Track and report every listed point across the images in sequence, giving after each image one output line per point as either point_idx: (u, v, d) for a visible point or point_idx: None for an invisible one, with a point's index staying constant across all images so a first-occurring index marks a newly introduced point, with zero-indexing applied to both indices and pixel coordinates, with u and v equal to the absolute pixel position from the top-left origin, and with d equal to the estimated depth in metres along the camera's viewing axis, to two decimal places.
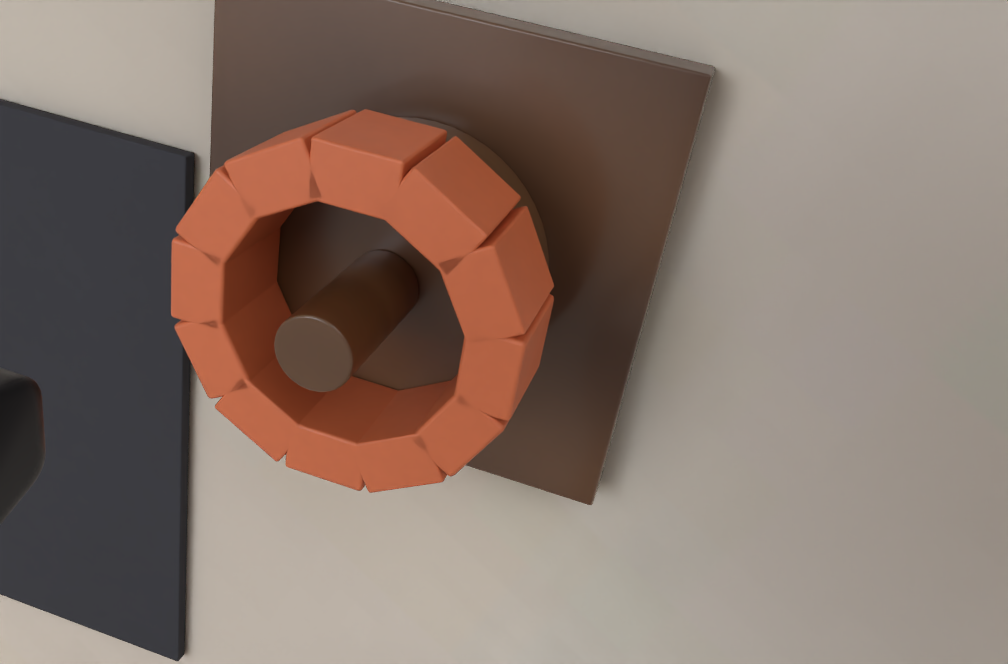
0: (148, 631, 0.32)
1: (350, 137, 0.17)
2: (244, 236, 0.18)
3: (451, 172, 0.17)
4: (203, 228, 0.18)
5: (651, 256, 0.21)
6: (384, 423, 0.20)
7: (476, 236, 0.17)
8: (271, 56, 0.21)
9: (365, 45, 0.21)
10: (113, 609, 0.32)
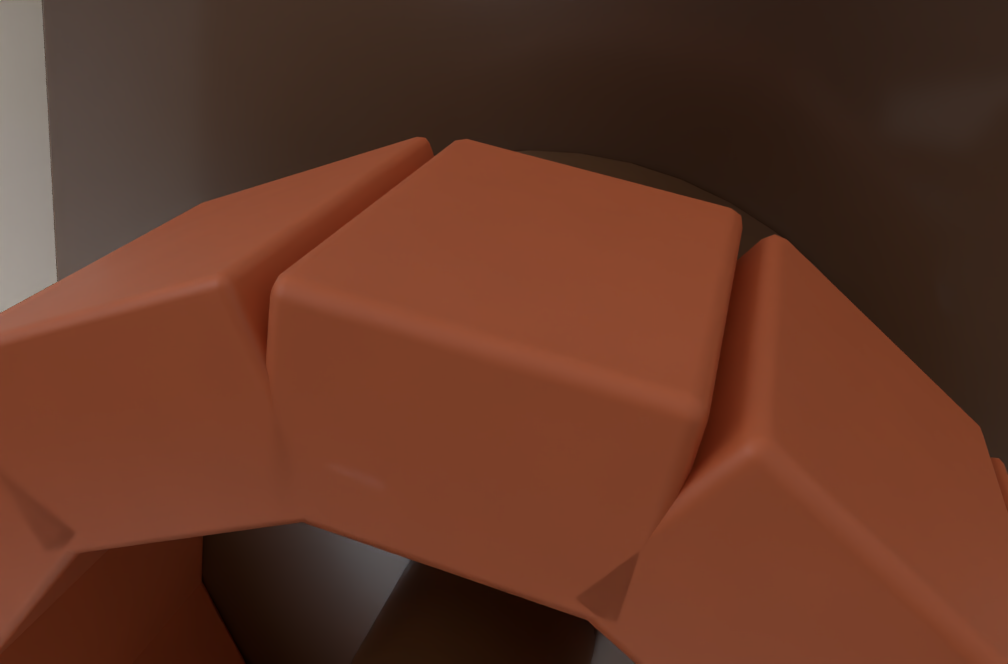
0: None
1: None
2: None
3: None
4: None
5: None
6: None
7: None
8: None
9: None
10: None
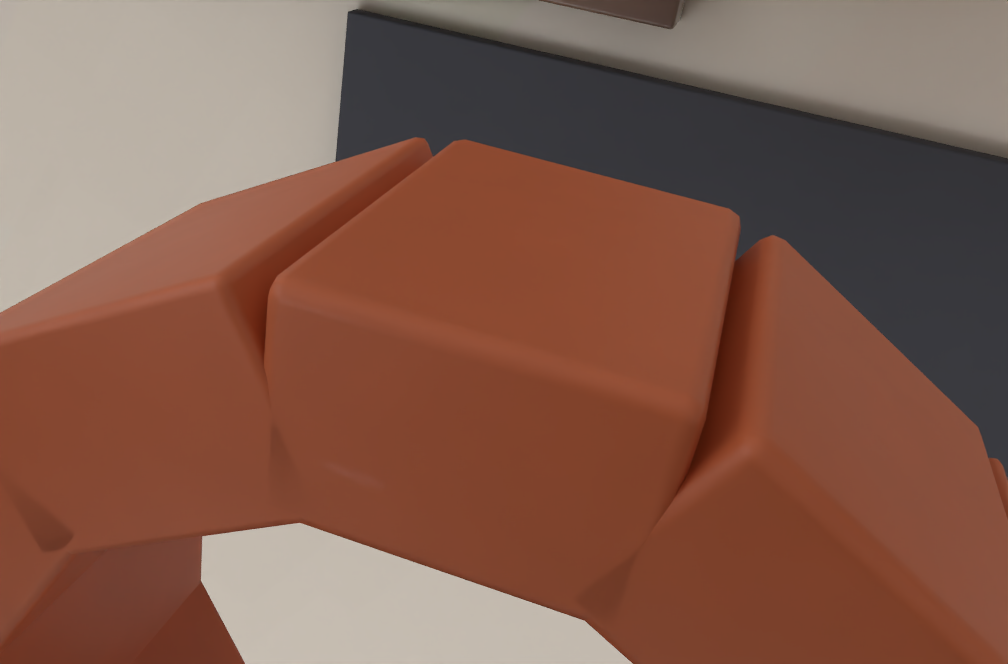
0: None
1: None
2: None
3: None
4: None
5: None
6: None
7: None
8: None
9: None
10: None
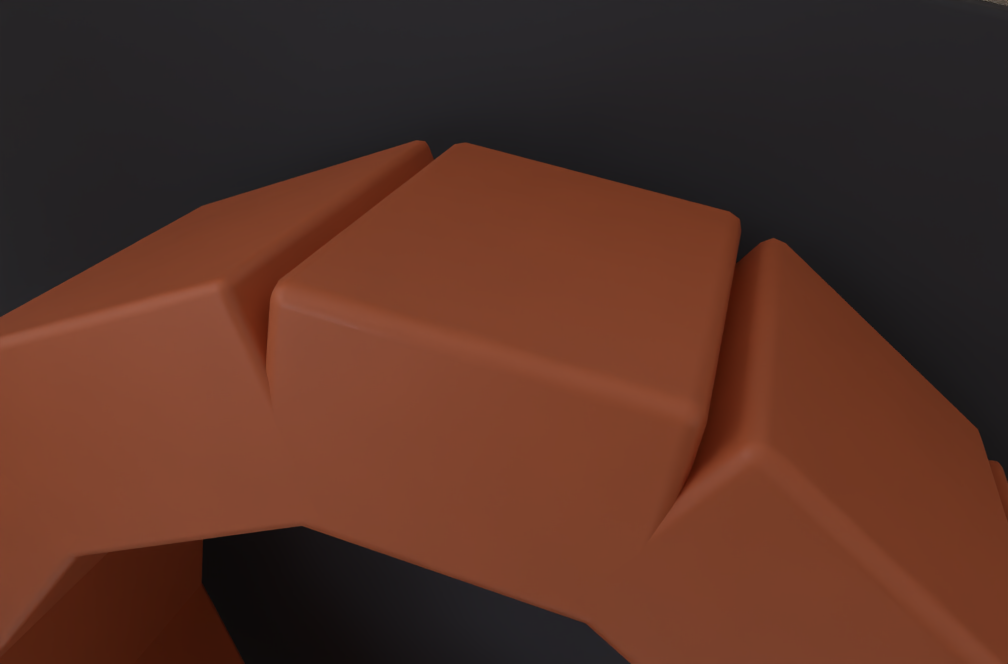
0: None
1: None
2: None
3: None
4: None
5: None
6: None
7: None
8: None
9: None
10: None
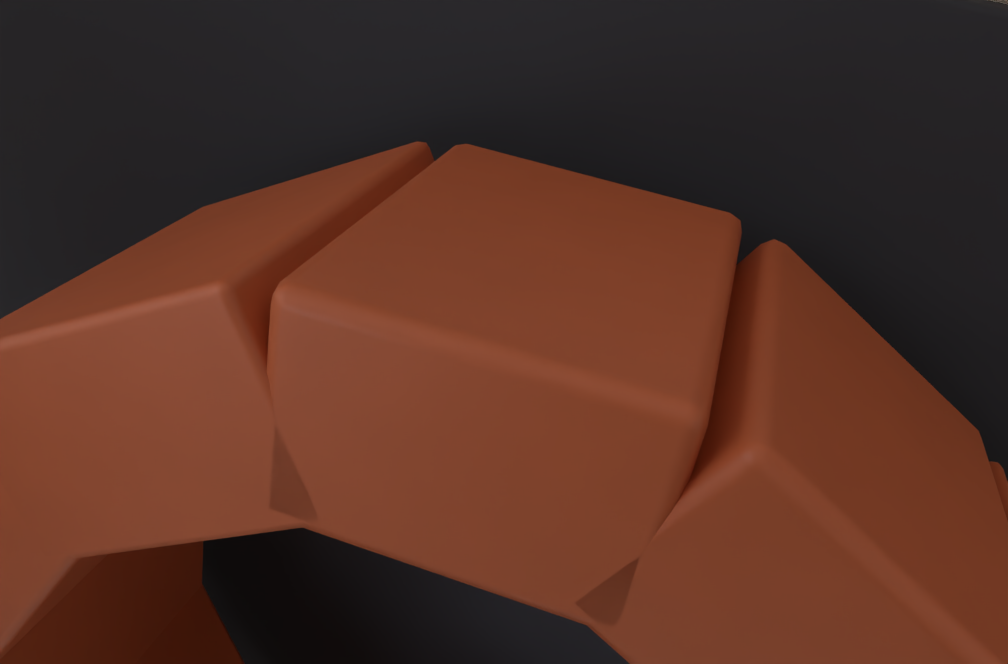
0: None
1: None
2: None
3: None
4: None
5: None
6: None
7: None
8: None
9: None
10: None
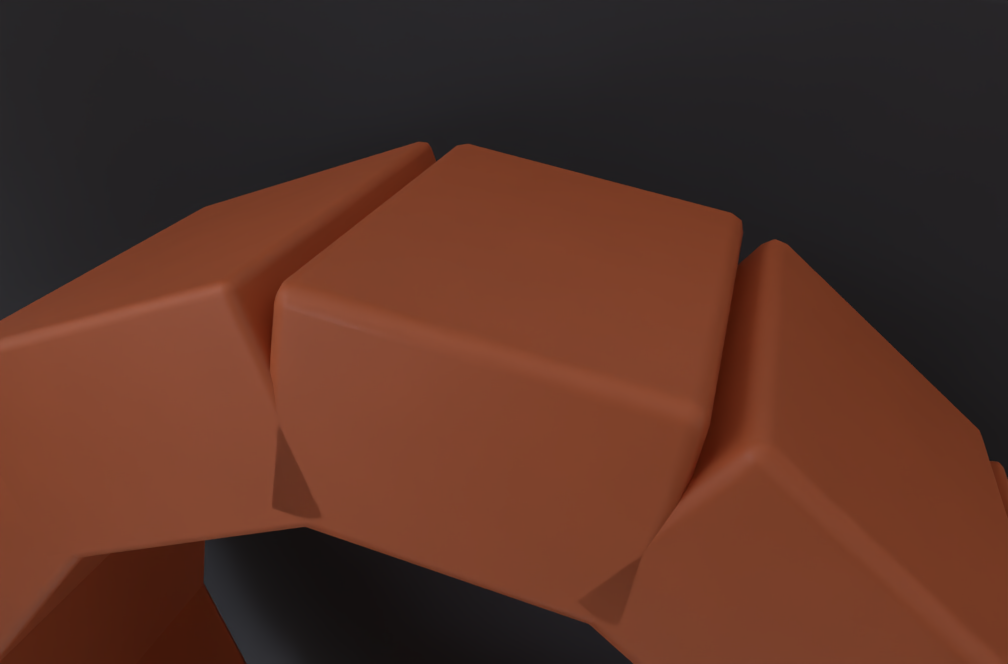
0: None
1: None
2: None
3: None
4: None
5: None
6: None
7: None
8: None
9: None
10: None
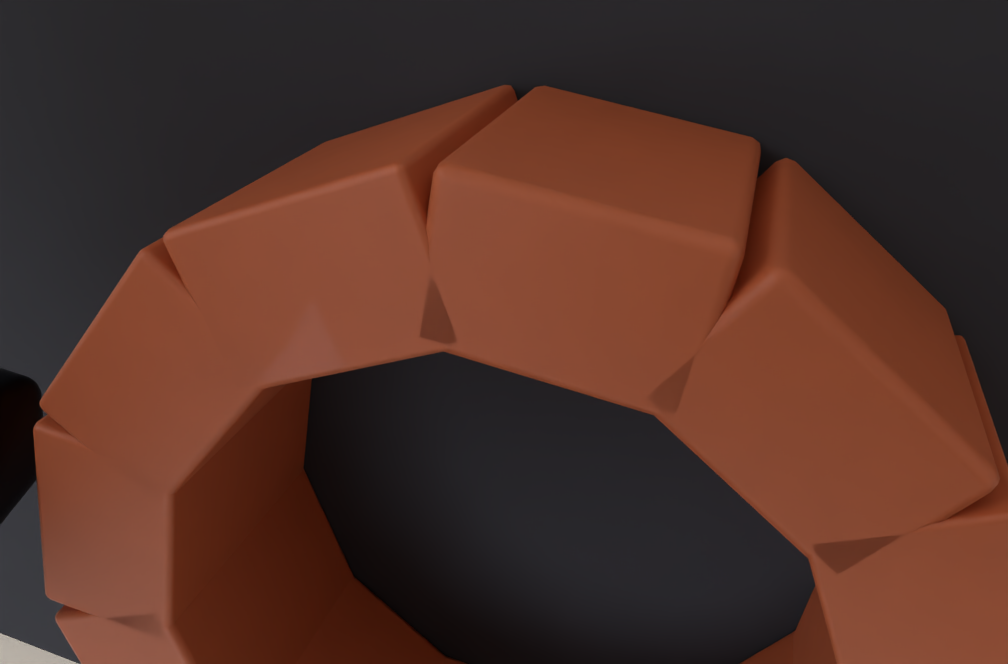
0: None
1: None
2: None
3: None
4: None
5: None
6: None
7: (150, 278, 0.06)
8: None
9: None
10: None
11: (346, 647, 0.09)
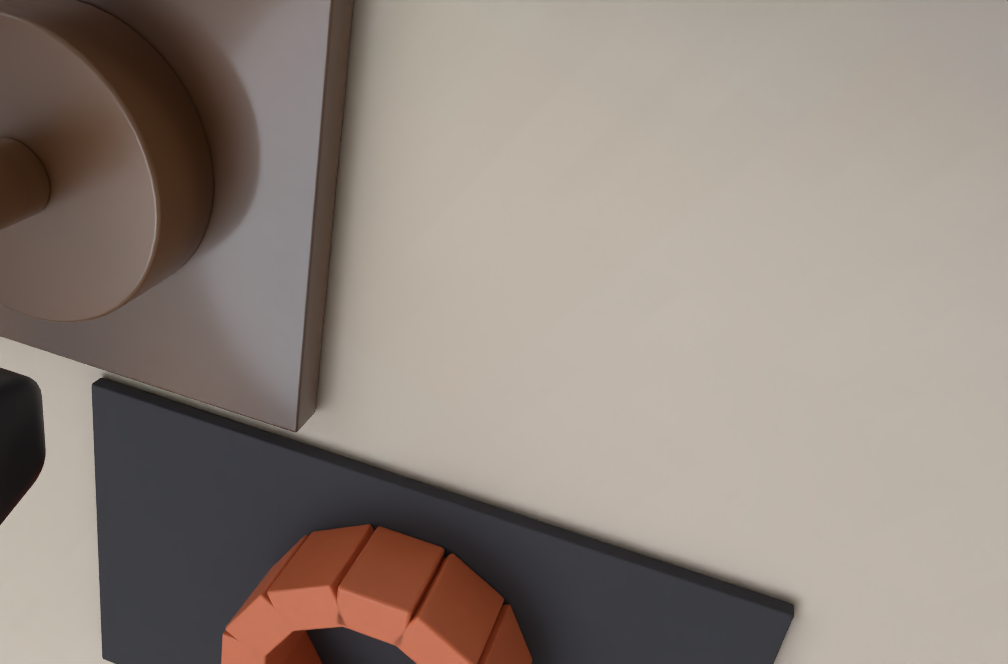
0: (738, 638, 0.22)
1: None
2: None
3: (252, 594, 0.24)
4: None
5: None
6: None
7: (262, 601, 0.22)
8: None
9: None
10: None
11: None
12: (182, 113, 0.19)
